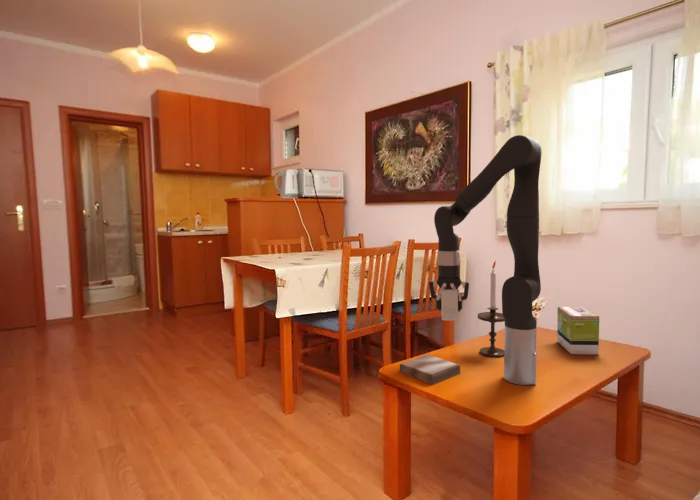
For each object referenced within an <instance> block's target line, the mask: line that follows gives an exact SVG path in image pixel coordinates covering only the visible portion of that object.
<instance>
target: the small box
mask: <svg viewBox="0 0 700 500" xmlns="http://www.w3.org/2000/svg"><path fill="white" fill-rule="evenodd" d="M440 314H441V321H459V312H458V291H457V290H455V289H454V290H453V289H444V290H441V313H440Z"/></svg>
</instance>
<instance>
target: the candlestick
mask: <svg viewBox="0 0 700 500" xmlns="http://www.w3.org/2000/svg"><path fill="white" fill-rule="evenodd" d="M496 262H497V260H495V261H494V262H493V265H492V266H491V267H492V270H491V272H490V291H489V292H490V294H489V295H490V297H489V298H490V299H489V300H490V301H489V304H490V306H489V307H487V308H486V309H487V310H489V311H487V312H485V311H484V312H479V313H477V319H479V320H481V321H484V322H488V323H490V331H489V332H488V335H489V337H490V338H489V342H490V346H485V347H481V348H480V349H479V354H480V355H482V356H483V357H486V358H487V357H488V358H504V349H503V348H499V347H496V346H495V342H497V340H496V336H497V332H496V331H495V326H496V325H495V324H496V323H503V322H504V323H505V320H504V317H503V314H502V312H497V310H499V308H498V307H497V305H496V303H497V302H496V301H497V299H496V296H497V295H496V294H497V293H496V291H497V289H496V288H497V273H496V272H495V267H496Z"/></svg>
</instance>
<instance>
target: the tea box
mask: <svg viewBox="0 0 700 500" xmlns="http://www.w3.org/2000/svg"><path fill="white" fill-rule="evenodd" d="M556 319H557V324H556V325H557V331H556V332H557V333H556V334H557V335H556V336H557V337H556V339H557V340H556V341H557V343H559V344H560V345H561V346H562V347H563V348H564V349H565V351H567V352H568V353H569V354H571V355H599V351H600V349H599V347H600V346H599V345H600V344H599V343H600V315H597V314H596V313H594V312H592V310H591V311H590V309H587V308H586V307H585V306H557V318H556Z"/></svg>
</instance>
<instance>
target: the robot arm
mask: <svg viewBox="0 0 700 500" xmlns="http://www.w3.org/2000/svg"><path fill="white" fill-rule="evenodd" d="M541 160H542V146H541V144H540V143H539V142H538V140H537V139H535V138H533V137H531V136H527V135H523V134H522V135H521V134H518V135H514V136H512V137H510V138H508V139H507V141H506V142H505V143H504V144H503V145H502V146H501V148H500V149H499V151H497V153H496V154H495V155H494V156H493V157H492V159H491V160H490V161H489V162H488V164H487V165H485V167H484V168H483V170H481V172H480V173H479V174H477V176H476V177H475V178H474V179H472V180H471V182H469V183H468V184H467V185H466V186H465V187H463V189H462V190H461V191H459V193H457V195H456V196H455V200H454V201H455V202H454V203H452V204H451V205H449V206H448V205H443V206H442V205H441V206H439V207H438V208H437V209H436V211H434V212H435V213H434V217H433V220H434V221H433V222H434V227H435V232H436V234H437V238H438V243H437V244H438V251H437V252H438V254H437V280H431V281H429V283H428V286H429V292H430V298H431V299H434V300H436V309H437V310H438V311H439V312H440V311H441V290H444V289H453V290H454V289H455V290H457V291H458V313H460V312H461V311H462V309H463V301H465V300H467V299H468V296H469V289H470V281H462V280H461V255H460V237H459V235H458V234H457V233H455V232H454V227H456V226H458V225H460V224H461V223H462V222H463V221H464V220H465V219H467V217H468V215H469V214H470V213H471V211H472V210H473V209H475V208H476V207H477V206H478V205H479V204H480V203H481V202H483V200H485V199H486V198H487V197H488V196H489V194H490V193H491V192H492V190H493V189H494V187H495V186H496V185H497V183H498V182H499V181H500V180H501V179H502V178H503V177H504V176H506V175H507V174H508V173H510V172H511V171H512V170H513V173H514V181H513V182H514V184H513V189H512V193H511V196H510V198H509V202H508V204H507V205H508V206H507V208H506V209H507V210H506V233H507V234H506V235H507V238H508V241H509V244H510V247H511V250H512V253H513V257H514V258H513V259H514V260H513V261H514V268H513V269H514V270H513V276H510V277H509V278H506V279H505V281H504V283H503V285H502V289H501V308H502V309H501V310H502V311H501V313H502V314H503V317H504V320H505V321H504V339H503V340H504V343H503V344H504V348H503V350H504V356H503V359H504V361H503V379H504V380H505V381H506V382H509V383H511V384H515V385H518V386H519V385H520V386H529V385H537V323H538V321H537V318H536V317H535V316H534V315H533V302H535V301H536V300H537V299H538V298H539V296H540V294H541V290H542V288H541V287H542V286H541V285H542V284H541V277H540V276H541V275H540V266H539V245H540V244H539V243H540V241H539V237H540V236H539V235H540V196H539V195H540V189H539V187H540V186H539V183H540V182H539V180H540V179H539V178H540V171H541V162H542V161H541ZM436 286H438V287H439V288H440V289H439V291H438V293H437V294H436V289H435V287H436ZM460 286H462V288H463V289H464V291H463V295H462V294H461V291H460V290H459V288H460Z"/></svg>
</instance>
